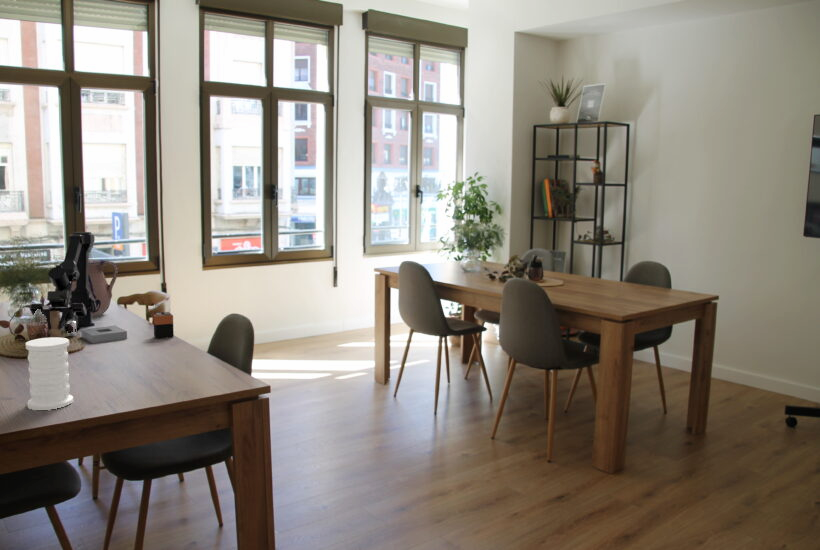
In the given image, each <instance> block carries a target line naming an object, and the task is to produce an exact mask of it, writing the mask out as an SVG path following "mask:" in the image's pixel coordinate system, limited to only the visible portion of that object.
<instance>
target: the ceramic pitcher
mask: <svg viewBox="0 0 820 550" xmlns="http://www.w3.org/2000/svg"><path fill="white" fill-rule="evenodd" d="M106 265H110V266H111V267H112V268H113V275H112V278H111V281H110V283H108V281H107V279H106V276H105V274H104V272H103V270H104V267H105V266H106ZM118 271H119V270H118V266H117V264H116V263H115V262H113V261H111V260H110V261H109V260H104V259H94V258H91V259H90V258H89V268H88V288H89V289H90V291H91V293H92V297H93V299H94V301H95V304H96V311H93V312H91V315H92V317H99V316H102V315H103V314H104V313H106V312H107V311H108V309H109V307H110V305H111V300H112V298H113V292H112V291H113V287H114V285H115V283H116V280H117V277H118ZM71 283H72V285H73V287H72V289H73V291H74V290H75V288H76V281H75V282H71ZM71 293H72V291H71ZM71 297H72V294H71V296H70V299H71ZM68 307H71V305H70V303H69V305H68ZM90 308H91V307H90ZM74 315H76V312H75V313H74Z"/></svg>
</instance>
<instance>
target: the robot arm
mask: <svg viewBox="0 0 820 550" xmlns="http://www.w3.org/2000/svg"><path fill="white" fill-rule="evenodd" d="M95 238H96V237H95V235H94V234H92V232H91V231H75V232H73V234H69V236H68V245H67V248H66V253H65V256H64V260H63V261H62V262H61V263H59V264H57V265H55V267H53V268H51V269H50V270H49V271H48V277H49V279H50V281H51V283H52V285H53V286H54V287H55V289H54V290H51V291H47V295H46V296H47V299H46V300H47V301H48V304H49V305H44V303H40V302H39V303H35V302H34V303H31V305H29V311H30V312H31V315H32V316H33V315H34V313H35V311H36V310H37V309H41V312H42V314H44V315H45V316H46V318H47V319H46V323H47V328H48V330H50V331H51V325H50V311H59V312H60V314H61V317H60V323H59V330H60V331H61V330H62V329H63V327H65V325H67V322H68V321H71V320H72V319H74V318H75V316H76V327H78V328H83V327H89V326H91V327H92V326H95V325H96V324H95V323H94V322H93V320H92V319H93V318H92V317H93V316H92V315H91V312H93V311H96V304H95V301H94V299H93V297H92V293H91V291H90V289H89V288H88V268H89V259H90V258H89V256H90V255H89V254H90V252H91V251H92V249H93V248H94V243H95ZM75 281H76V288H75V290H74V291H73V289H72V287H73V285H72V283H71V282H75ZM71 291H72V293H71ZM71 294H72V297H71V299H70V296H71ZM69 303H70V305H71V307H69ZM90 307H91V308H90ZM75 312H76V314H75ZM79 326H81V327H79Z"/></svg>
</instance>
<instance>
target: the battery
mask: <svg viewBox="0 0 820 550" xmlns="http://www.w3.org/2000/svg"><path fill="white" fill-rule="evenodd" d="M174 334H175V332H174V315H173V314H172V313H171V312H170V311H164V313H161V312H156V314H153V336H154V338H155V339H157V340H158V339H159V340H160V339H169V338H174V336H175V335H174Z"/></svg>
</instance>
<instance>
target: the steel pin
mask: <svg viewBox="0 0 820 550" xmlns="http://www.w3.org/2000/svg"><path fill="white" fill-rule="evenodd" d="M76 323H77V320H69V321H68V322H67V323H66V325H67V324H70V325H71V326H72V327H73V332H71V333H68V332H67V337H68V336H76V335H77V334H78V333H77V332H78V331H77V326H76ZM75 329H76V332H75ZM76 337H77V336H76Z"/></svg>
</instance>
